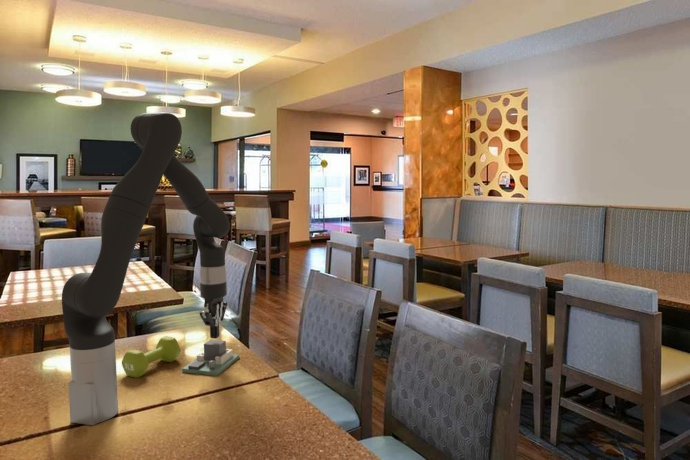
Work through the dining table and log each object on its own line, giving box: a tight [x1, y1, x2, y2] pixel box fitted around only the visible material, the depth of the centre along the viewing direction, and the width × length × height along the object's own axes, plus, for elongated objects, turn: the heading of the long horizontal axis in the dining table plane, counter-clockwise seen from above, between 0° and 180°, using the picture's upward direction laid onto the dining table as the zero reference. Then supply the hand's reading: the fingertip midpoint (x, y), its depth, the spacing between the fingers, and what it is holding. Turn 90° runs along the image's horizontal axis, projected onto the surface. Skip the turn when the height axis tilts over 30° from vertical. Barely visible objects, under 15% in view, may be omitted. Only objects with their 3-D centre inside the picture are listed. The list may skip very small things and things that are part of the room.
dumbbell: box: [121, 335, 181, 379], centre depth 140 cm, size 16×8×7 cm, turn 155°
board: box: [181, 348, 241, 377], centre depth 143 cm, size 14×11×3 cm
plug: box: [203, 339, 227, 361], centre depth 144 cm, size 4×6×5 cm
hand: (214, 337), depth 144 cm, fingers closed
